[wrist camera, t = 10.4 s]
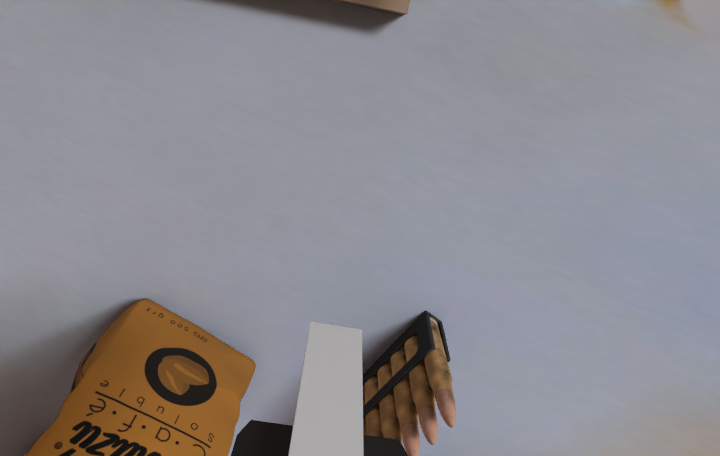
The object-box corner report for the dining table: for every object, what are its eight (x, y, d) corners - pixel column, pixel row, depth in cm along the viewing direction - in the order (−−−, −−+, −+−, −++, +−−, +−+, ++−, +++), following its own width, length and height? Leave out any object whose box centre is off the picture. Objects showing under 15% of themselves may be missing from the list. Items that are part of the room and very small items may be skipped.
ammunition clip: (362, 402, 46) (364, 522, 34) (346, 391, 45) (343, 509, 34) (442, 321, 43) (472, 424, 31) (426, 309, 42) (451, 409, 31)
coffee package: (154, 273, 41) (-53, 514, 20) (274, 359, 44) (201, 645, 23) (89, 350, 43) (-152, 634, 23) (207, 426, 46) (88, 737, 26)
